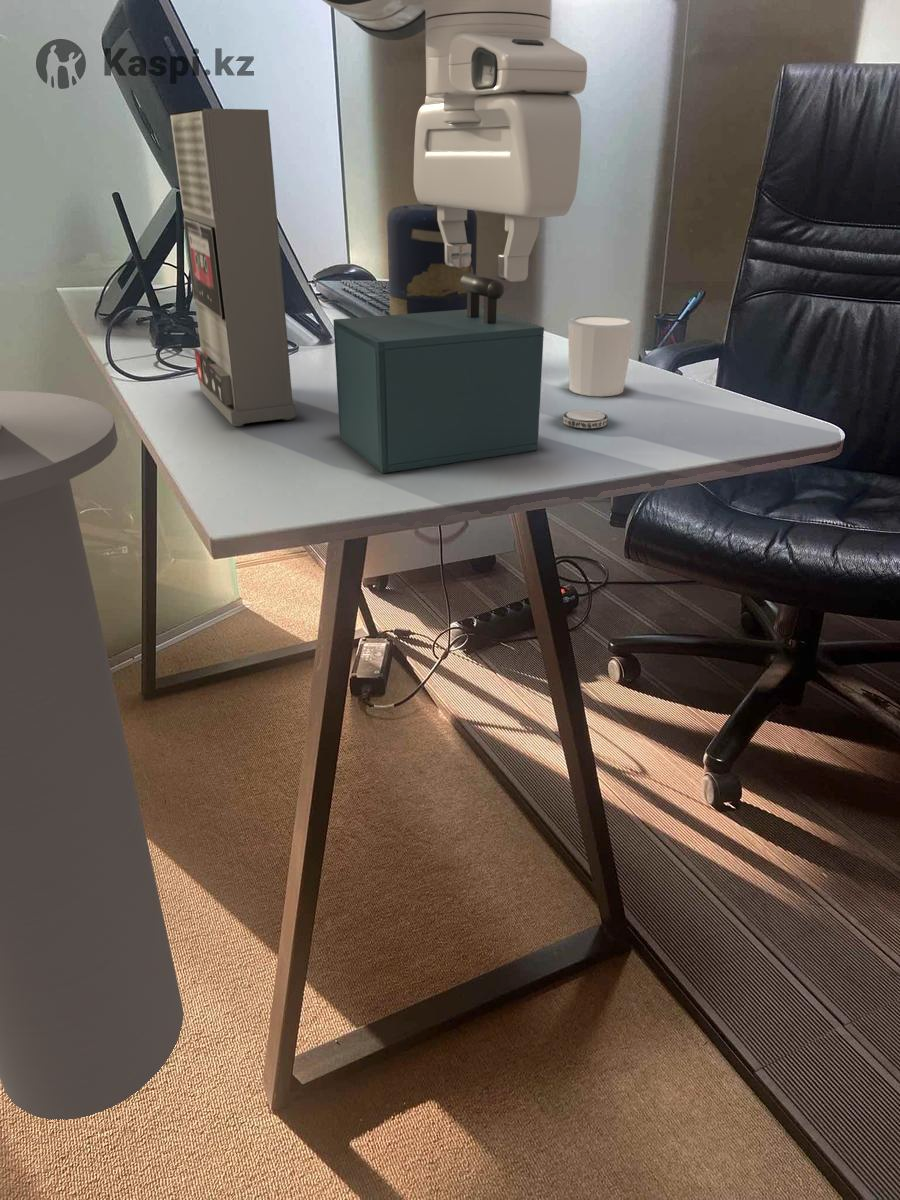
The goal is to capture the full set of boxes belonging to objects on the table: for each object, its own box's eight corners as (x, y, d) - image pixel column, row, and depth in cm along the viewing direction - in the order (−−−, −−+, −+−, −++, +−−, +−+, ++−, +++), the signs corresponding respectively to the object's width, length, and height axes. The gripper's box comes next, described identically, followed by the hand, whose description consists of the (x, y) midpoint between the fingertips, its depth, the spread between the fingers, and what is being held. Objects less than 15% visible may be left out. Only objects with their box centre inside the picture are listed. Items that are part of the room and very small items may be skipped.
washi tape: (615, 425, 78) (616, 418, 78) (578, 430, 76) (578, 423, 76) (591, 414, 81) (591, 407, 81) (555, 418, 80) (555, 412, 79)
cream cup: (588, 378, 94) (593, 312, 91) (641, 389, 90) (649, 320, 87) (550, 389, 90) (554, 320, 86) (604, 401, 86) (611, 329, 82)
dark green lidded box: (382, 473, 66) (375, 293, 60) (339, 438, 74) (330, 276, 68) (537, 450, 72) (546, 282, 66) (482, 419, 80) (486, 267, 74)
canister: (474, 361, 101) (478, 193, 93) (475, 380, 93) (479, 198, 84) (394, 360, 101) (390, 192, 93) (387, 379, 93) (382, 197, 85)
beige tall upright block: (198, 393, 88) (160, 113, 76) (256, 386, 90) (229, 114, 79) (230, 428, 77) (191, 108, 65) (295, 420, 79) (270, 109, 68)
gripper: (392, 78, 69) (397, 261, 75) (517, 56, 53) (510, 292, 59) (462, 80, 71) (461, 257, 78) (603, 59, 55) (587, 286, 61)
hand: (483, 273), depth 68 cm, fingers open, 8 cm apart
